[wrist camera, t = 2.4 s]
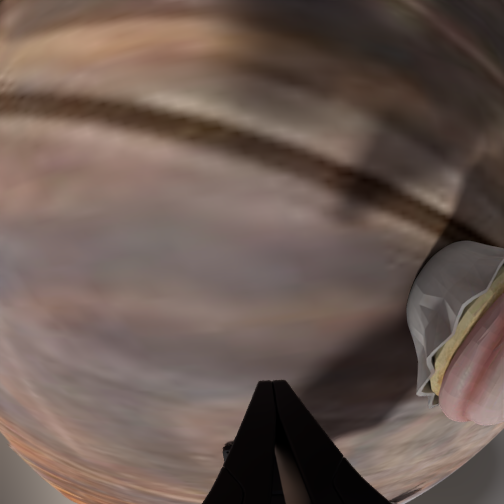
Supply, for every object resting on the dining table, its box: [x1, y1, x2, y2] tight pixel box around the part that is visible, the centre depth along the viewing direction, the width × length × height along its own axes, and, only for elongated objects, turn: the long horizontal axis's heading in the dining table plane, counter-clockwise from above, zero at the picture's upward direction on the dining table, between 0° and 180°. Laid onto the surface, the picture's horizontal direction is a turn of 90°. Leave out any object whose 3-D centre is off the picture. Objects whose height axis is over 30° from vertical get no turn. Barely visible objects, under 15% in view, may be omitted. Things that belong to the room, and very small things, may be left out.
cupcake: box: [406, 241, 504, 426], centre depth 9 cm, size 9×9×10 cm
